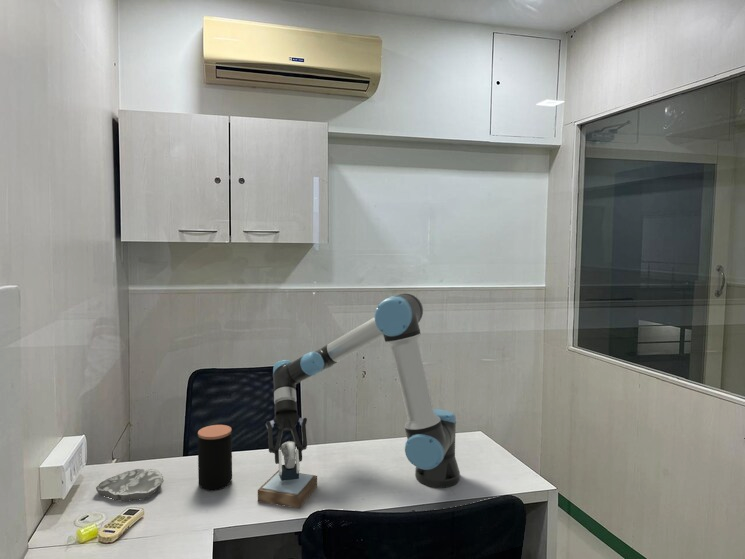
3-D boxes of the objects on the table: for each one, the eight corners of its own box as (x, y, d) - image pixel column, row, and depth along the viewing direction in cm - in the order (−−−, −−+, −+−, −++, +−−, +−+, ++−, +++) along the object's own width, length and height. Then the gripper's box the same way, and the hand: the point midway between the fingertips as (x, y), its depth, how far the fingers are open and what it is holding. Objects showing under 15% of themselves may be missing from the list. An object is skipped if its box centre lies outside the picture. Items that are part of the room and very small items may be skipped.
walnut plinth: (317, 486, 158) (317, 474, 157) (299, 508, 144) (299, 495, 144) (278, 480, 162) (278, 468, 161) (257, 501, 148) (257, 488, 148)
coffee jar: (238, 483, 159) (237, 430, 158) (208, 495, 152) (207, 439, 150) (221, 472, 167) (221, 422, 165) (192, 483, 159) (191, 430, 158)
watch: (294, 470, 157) (296, 437, 157) (300, 481, 150) (301, 446, 149) (277, 472, 155) (278, 438, 155) (282, 483, 148) (283, 448, 147)
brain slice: (175, 478, 163) (175, 469, 162) (148, 505, 146) (148, 496, 146) (119, 476, 164) (119, 467, 164) (86, 502, 147) (86, 493, 147)
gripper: (310, 406, 168) (316, 473, 154) (258, 410, 164) (260, 480, 149) (312, 396, 163) (319, 465, 148) (258, 400, 159) (260, 471, 144)
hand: (289, 472), depth 149 cm, fingers closed on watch, 5 cm apart
